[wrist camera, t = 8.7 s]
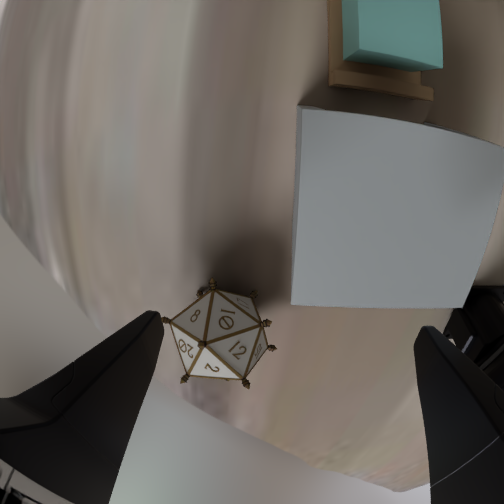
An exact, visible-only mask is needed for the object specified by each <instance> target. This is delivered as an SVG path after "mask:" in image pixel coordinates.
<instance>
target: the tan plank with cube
mask: <svg viewBox="0 0 504 504" xmlns="http://www.w3.org/2000/svg"><path fill="white" fill-rule="evenodd" d="M327 8H328V54H329V66H328V86H334V87H343V88H351V89H359V90H366V91H373V92H379V93H385V94H390V95H395V96H401V97H405V98H410V99H417V100H428V101H433V99H434V88H431V87H427V86H423V85H421V71H416V72H408V71H403V70H399V69H394V68H389V67H384V66H379V65H373V64H367V63H360V62H353V61H346V60H343V22H342V0H327Z"/></svg>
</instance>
